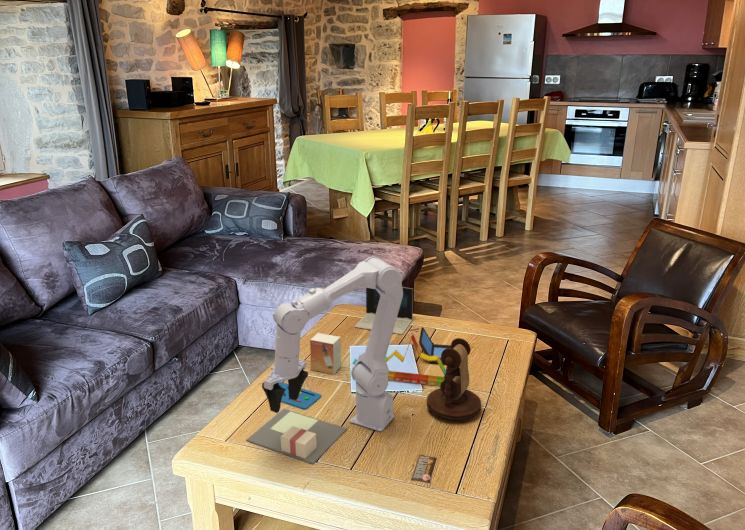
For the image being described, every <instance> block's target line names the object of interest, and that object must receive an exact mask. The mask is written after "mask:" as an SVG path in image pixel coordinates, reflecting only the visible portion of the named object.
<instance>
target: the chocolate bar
mask: <svg viewBox="0 0 745 530" xmlns="http://www.w3.org/2000/svg"><path fill="white" fill-rule="evenodd" d="M437 460H438V458H437V457H434V456H433V457H432V456H428V455H422V454H418V459H417V461H416V464H415V467H414V470H413V473H412V476H411V478H410V481H412V482H413V481H414V482H415V481H416V482H422V483H425V484H431V480H432V476H433V473H434V470H435V466H436V463H437Z"/></svg>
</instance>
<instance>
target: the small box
mask: <svg viewBox="0 0 745 530" xmlns="http://www.w3.org/2000/svg"><path fill="white" fill-rule="evenodd" d="M309 342H310V343H309V345H310V346H309V349H310V350H309V351H310V354H309V355H310V370H311V371H316V372H320V373H325V374H328V375H335V374H336V373H337V372H338V370H339V369H341V367H342V337H341V336H338V335H337V336H336V335H330V334H327V333H321V332H317V333H316V334H315V335H314V336H313V337H312V338H311V339H309Z"/></svg>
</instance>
